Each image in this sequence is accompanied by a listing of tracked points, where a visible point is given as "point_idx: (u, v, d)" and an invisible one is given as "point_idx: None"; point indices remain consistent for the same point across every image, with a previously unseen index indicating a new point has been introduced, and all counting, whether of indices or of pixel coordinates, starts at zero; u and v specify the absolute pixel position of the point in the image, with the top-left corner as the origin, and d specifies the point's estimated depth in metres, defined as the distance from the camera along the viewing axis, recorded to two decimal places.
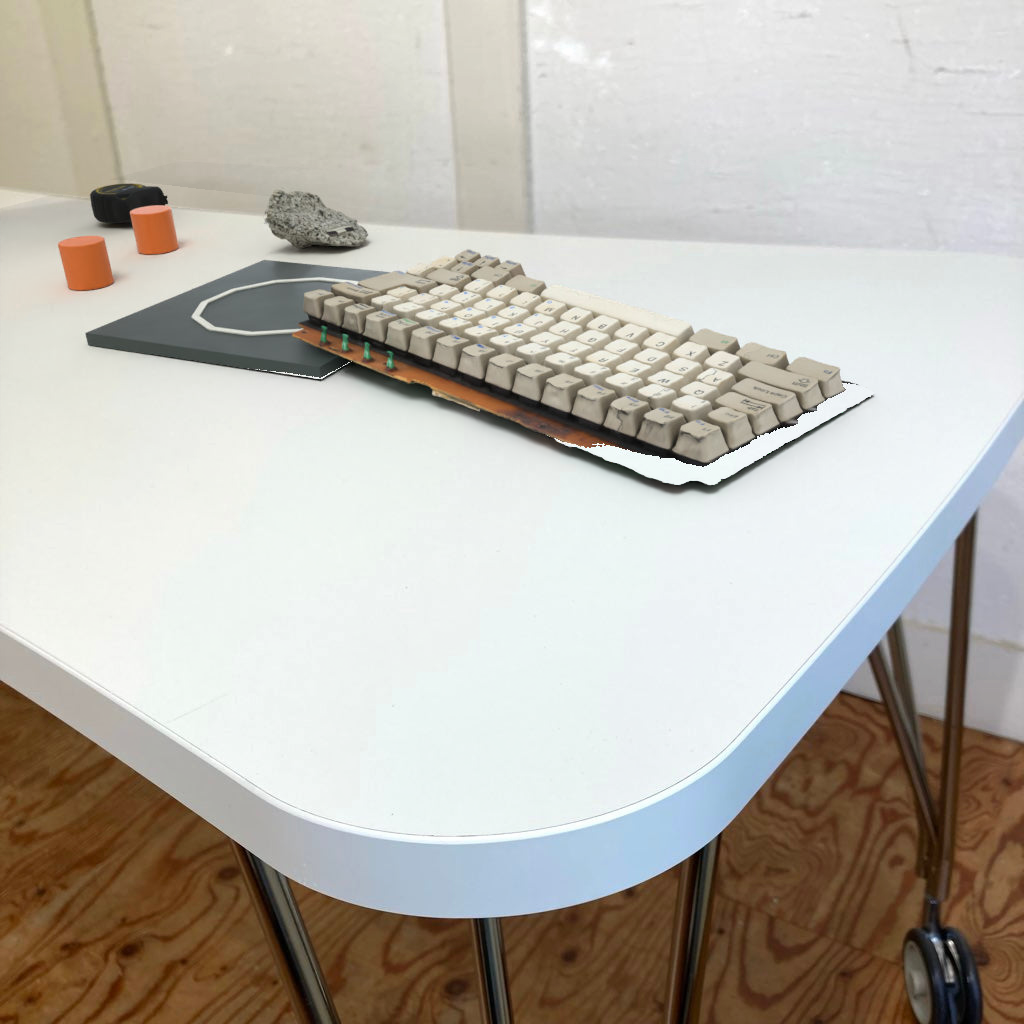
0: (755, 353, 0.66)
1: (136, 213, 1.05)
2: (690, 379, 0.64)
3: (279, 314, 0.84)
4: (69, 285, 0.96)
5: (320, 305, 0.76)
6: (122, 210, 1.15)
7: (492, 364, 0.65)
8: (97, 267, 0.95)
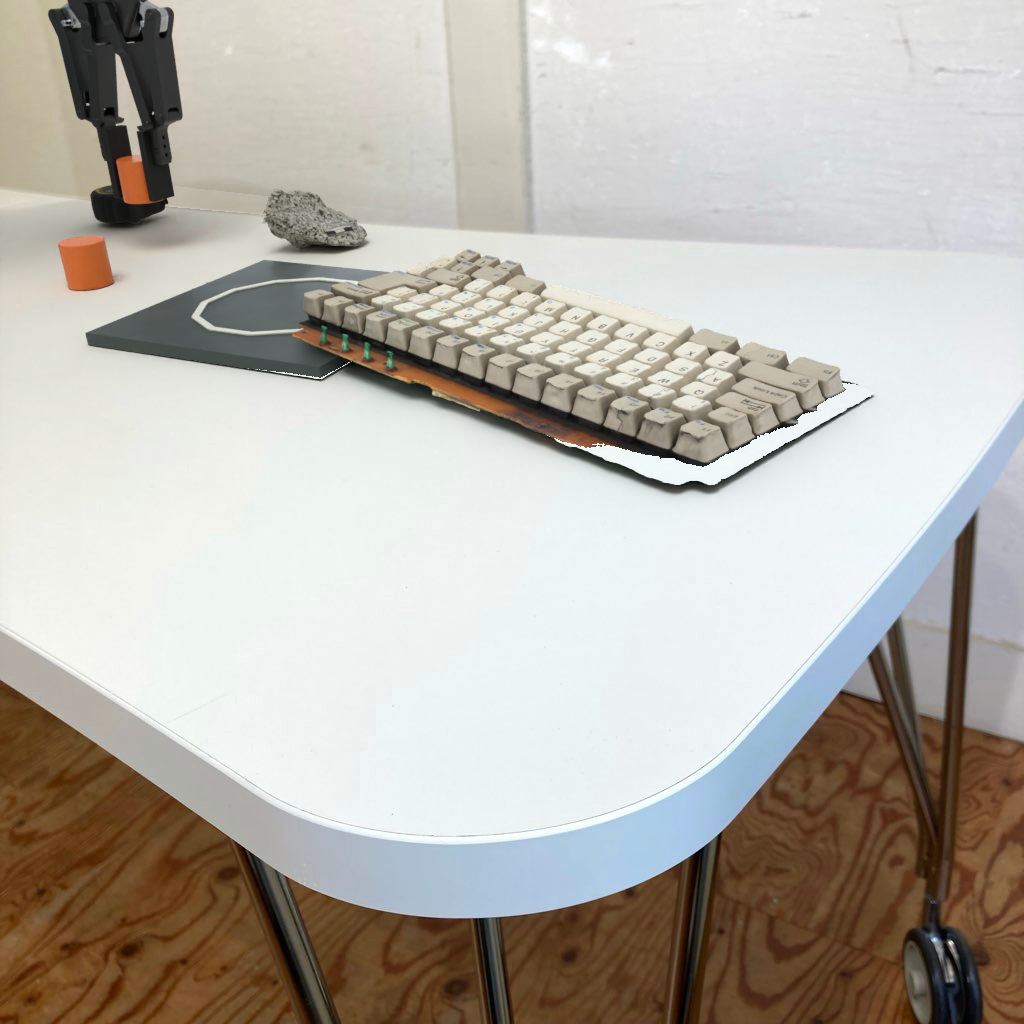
0: (755, 353, 0.66)
1: (122, 161, 1.03)
2: (690, 379, 0.64)
3: (279, 314, 0.84)
4: (69, 285, 0.96)
5: (320, 305, 0.76)
6: (122, 210, 1.15)
7: (492, 364, 0.65)
8: (97, 267, 0.95)
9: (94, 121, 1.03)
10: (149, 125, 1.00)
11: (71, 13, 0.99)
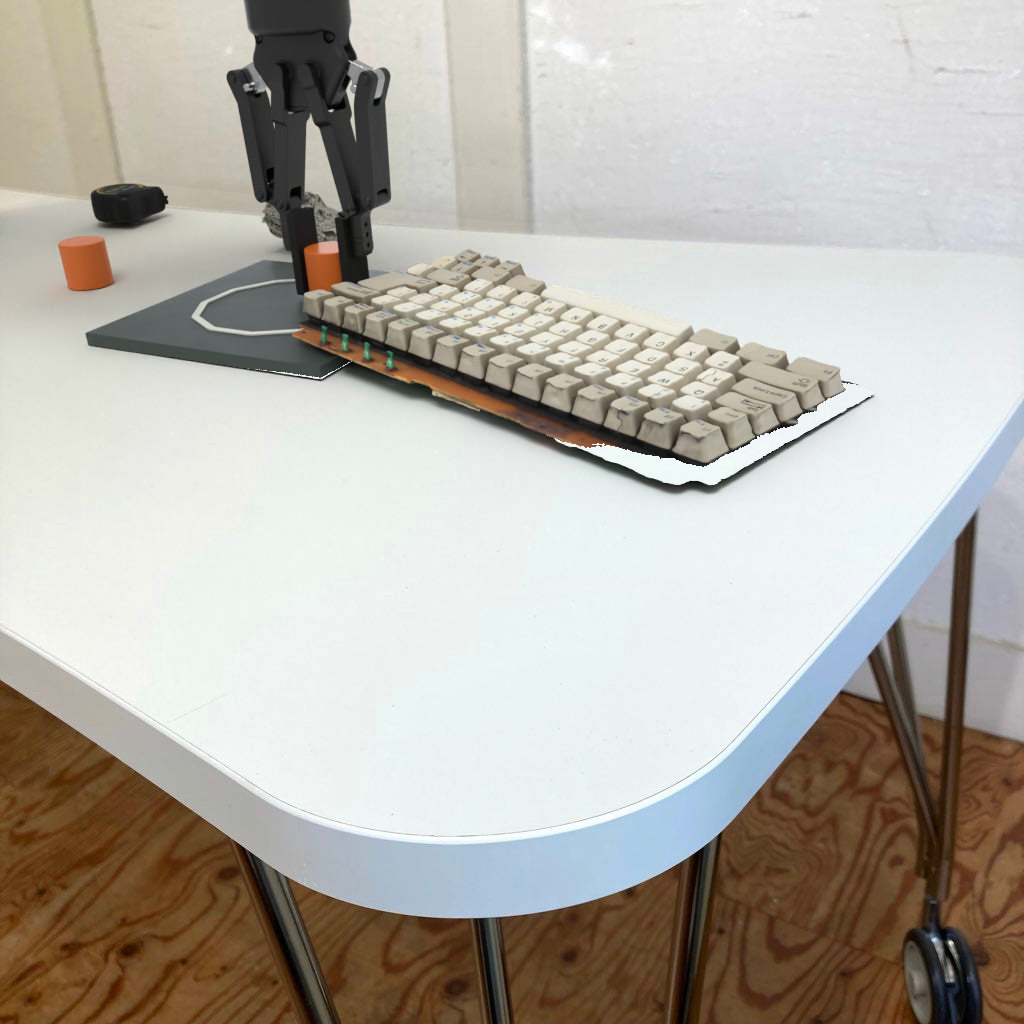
0: (755, 353, 0.66)
1: (313, 252, 0.84)
2: (690, 379, 0.64)
3: (279, 314, 0.84)
4: (69, 285, 0.96)
5: (320, 305, 0.76)
6: (123, 210, 1.15)
7: (492, 364, 0.65)
8: (97, 267, 0.95)
9: (278, 205, 0.84)
10: (353, 211, 0.81)
11: (256, 75, 0.80)
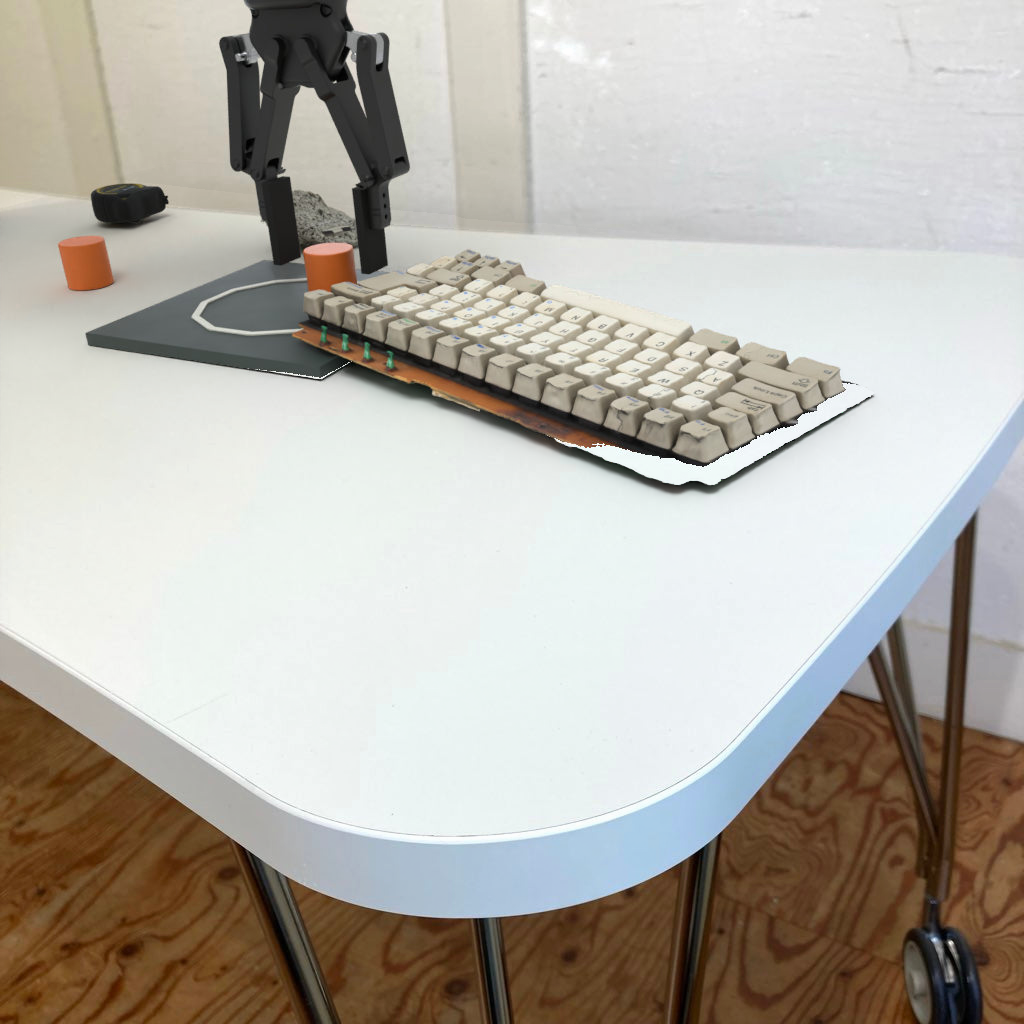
0: (755, 353, 0.66)
1: (313, 253, 0.84)
2: (690, 379, 0.64)
3: (279, 314, 0.84)
4: (69, 285, 0.96)
5: (320, 305, 0.76)
6: (123, 210, 1.15)
7: (492, 364, 0.65)
8: (97, 267, 0.95)
9: (254, 173, 0.83)
10: (371, 179, 0.79)
11: (249, 46, 0.79)
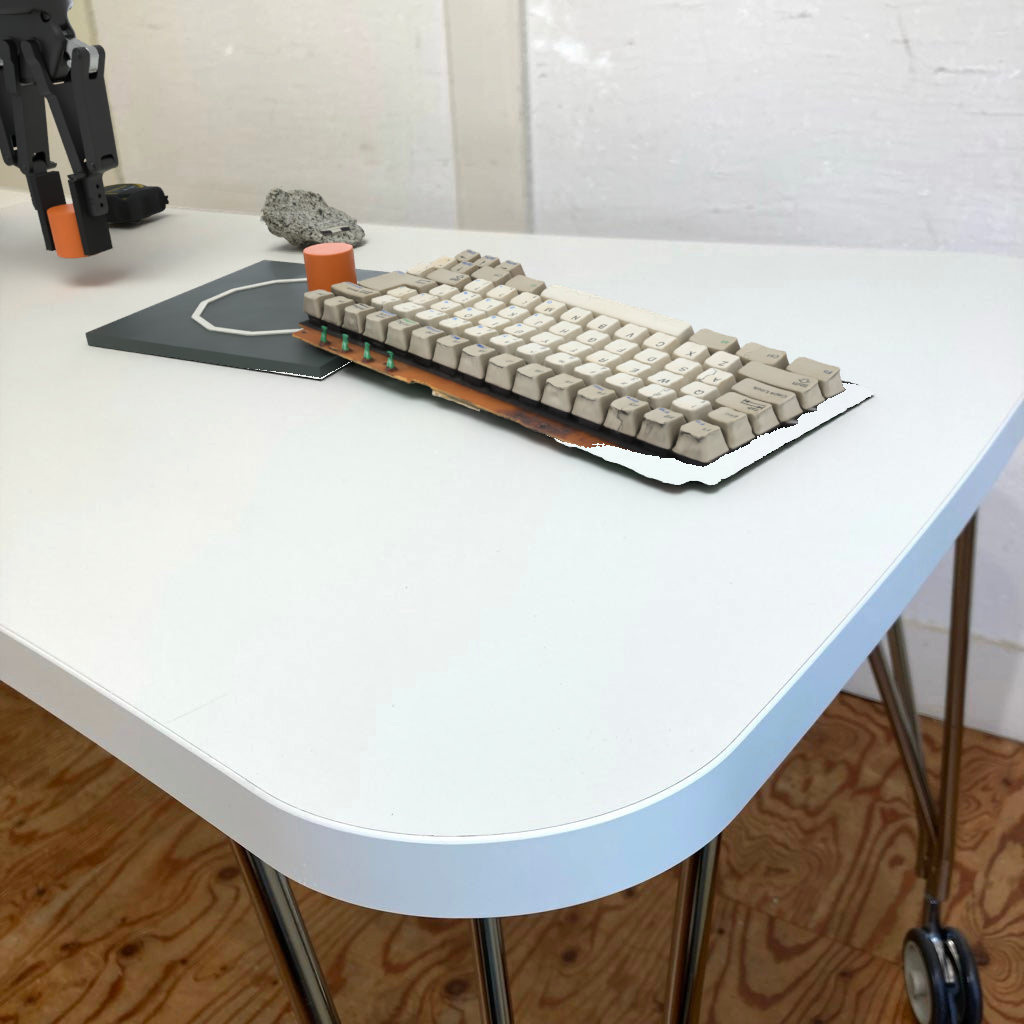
0: (755, 353, 0.66)
1: (313, 253, 0.84)
2: (690, 379, 0.64)
3: (279, 314, 0.84)
4: (58, 253, 0.95)
5: (320, 305, 0.76)
6: (123, 210, 1.15)
7: (492, 364, 0.65)
8: None
9: (22, 168, 0.93)
10: (80, 174, 0.90)
11: None
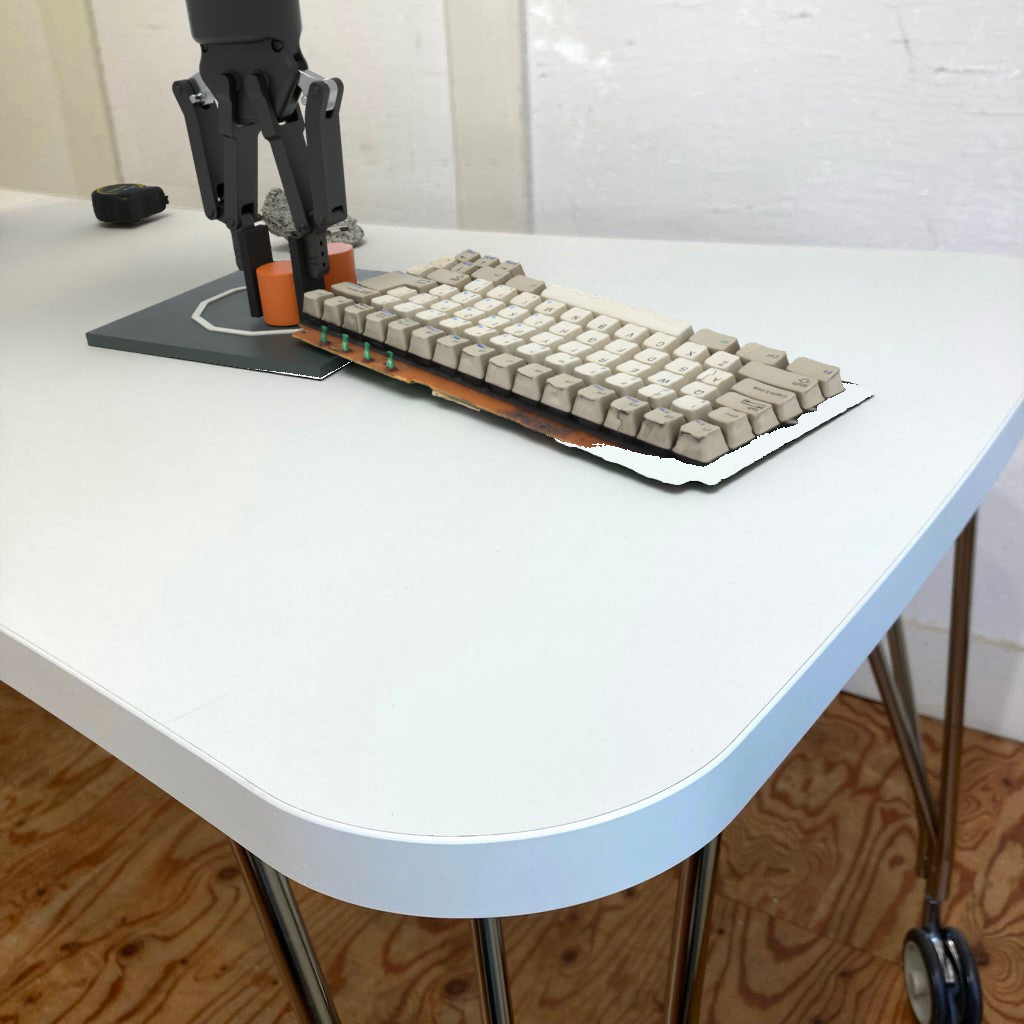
0: (755, 353, 0.66)
1: None
2: (690, 379, 0.64)
3: None
4: (267, 320, 0.81)
5: (320, 305, 0.76)
6: (123, 210, 1.15)
7: (492, 364, 0.65)
8: None
9: (229, 222, 0.79)
10: (306, 230, 0.76)
11: (203, 86, 0.76)
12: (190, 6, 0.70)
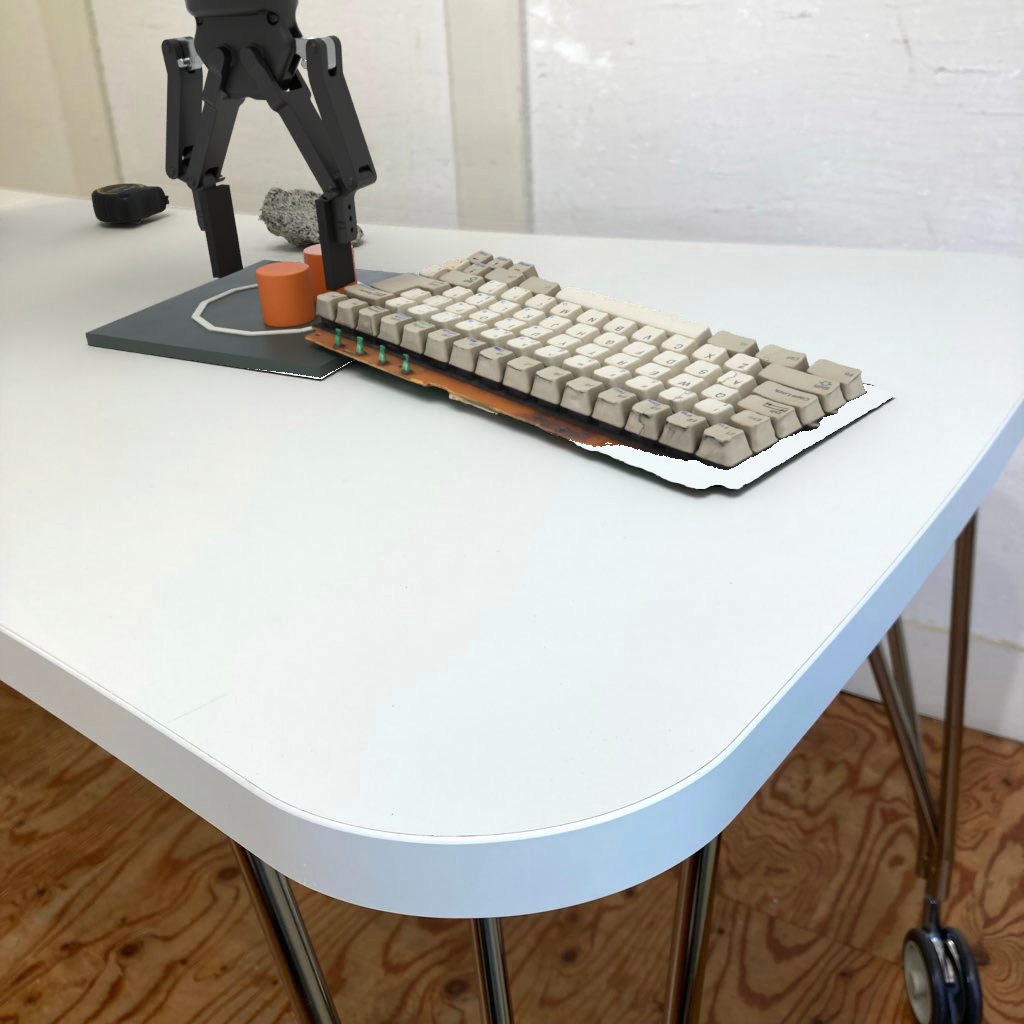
0: (775, 355, 0.66)
1: (313, 253, 0.84)
2: (710, 381, 0.64)
3: None
4: (267, 321, 0.81)
5: (334, 307, 0.76)
6: (123, 210, 1.15)
7: (510, 367, 0.64)
8: (302, 300, 0.80)
9: (190, 181, 0.79)
10: (334, 189, 0.73)
11: (193, 53, 0.75)
12: None
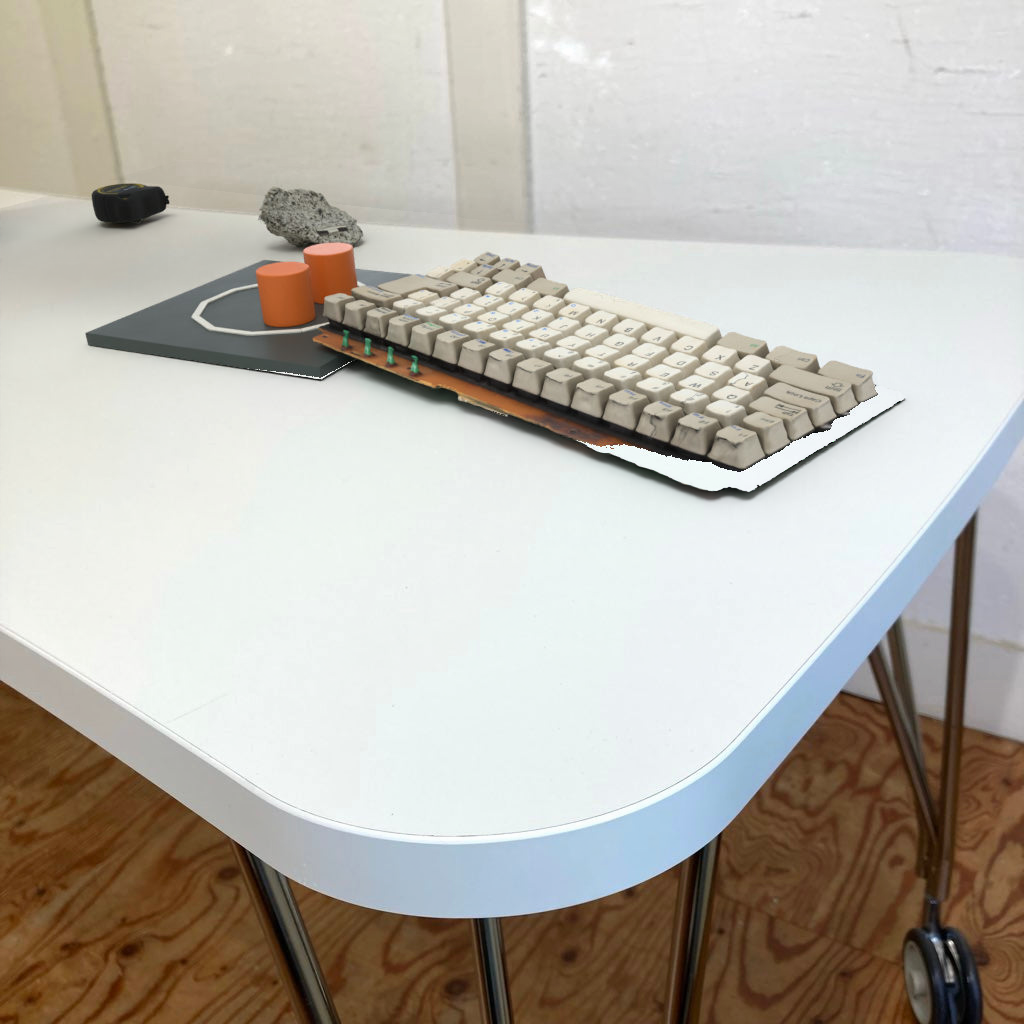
0: (785, 357, 0.65)
1: (313, 253, 0.84)
2: (721, 383, 0.63)
3: None
4: (267, 321, 0.81)
5: (341, 309, 0.75)
6: (124, 210, 1.15)
7: (520, 369, 0.64)
8: (302, 300, 0.80)
9: None
10: None
11: None
12: None
